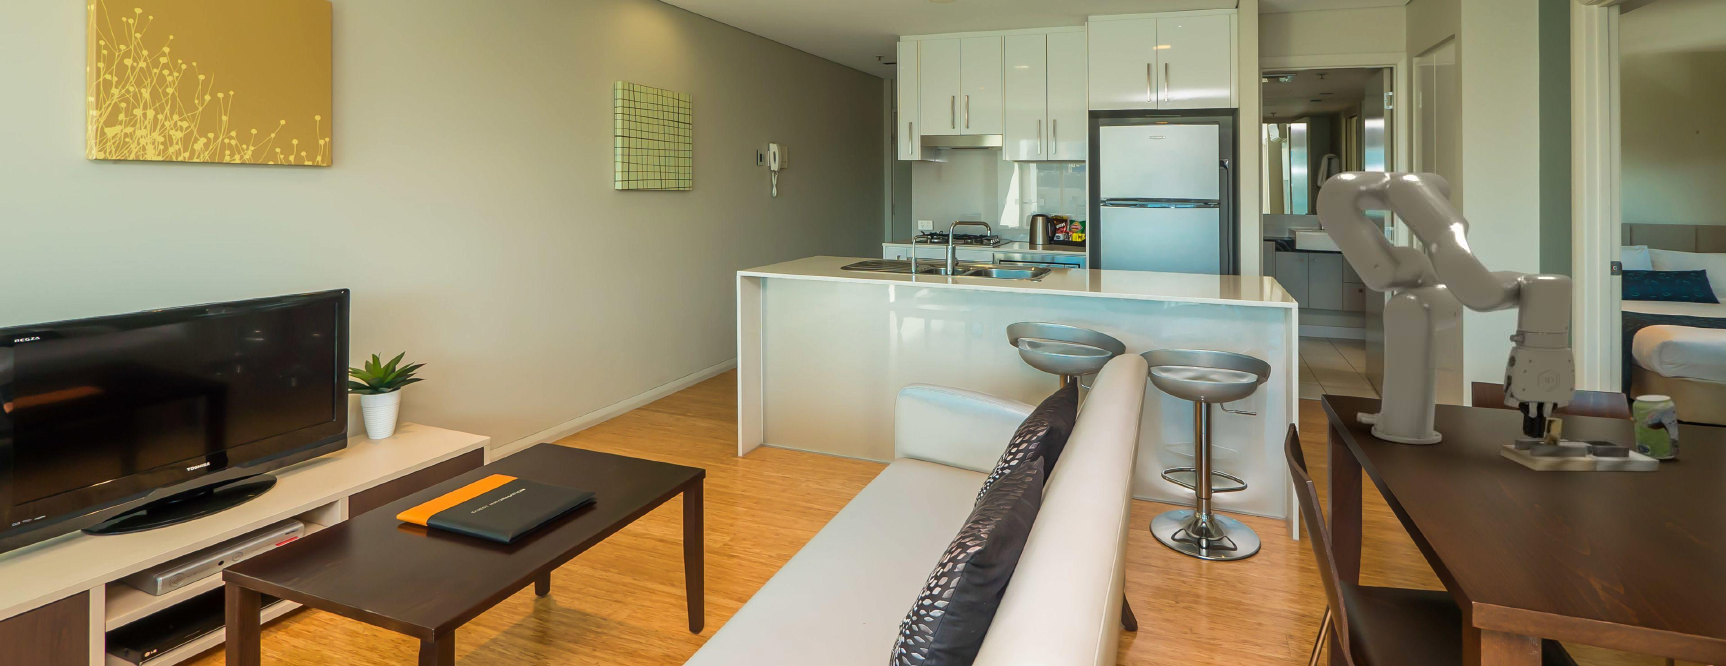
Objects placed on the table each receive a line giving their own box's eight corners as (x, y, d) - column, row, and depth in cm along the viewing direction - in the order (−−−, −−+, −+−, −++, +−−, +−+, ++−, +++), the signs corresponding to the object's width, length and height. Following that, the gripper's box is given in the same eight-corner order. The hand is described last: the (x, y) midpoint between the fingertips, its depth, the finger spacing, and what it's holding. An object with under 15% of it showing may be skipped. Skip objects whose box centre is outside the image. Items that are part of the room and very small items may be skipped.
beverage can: (1686, 462, 160) (1694, 400, 159) (1641, 461, 162) (1648, 399, 160) (1663, 453, 167) (1670, 392, 165) (1619, 451, 168) (1626, 392, 166)
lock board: (1535, 470, 158) (1537, 450, 157) (1500, 454, 168) (1502, 436, 167) (1658, 471, 156) (1660, 451, 155) (1615, 455, 166) (1617, 436, 165)
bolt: (1546, 453, 161) (1549, 420, 160) (1537, 450, 163) (1541, 417, 162) (1592, 453, 160) (1595, 420, 159) (1582, 450, 162) (1586, 417, 161)
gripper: (1511, 344, 156) (1503, 441, 158) (1600, 343, 154) (1590, 441, 157) (1486, 338, 163) (1478, 431, 166) (1570, 337, 162) (1561, 431, 164)
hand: (1533, 436), depth 161 cm, fingers closed
